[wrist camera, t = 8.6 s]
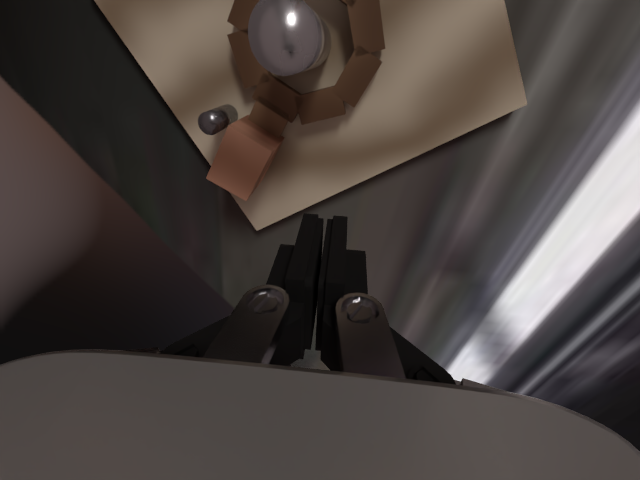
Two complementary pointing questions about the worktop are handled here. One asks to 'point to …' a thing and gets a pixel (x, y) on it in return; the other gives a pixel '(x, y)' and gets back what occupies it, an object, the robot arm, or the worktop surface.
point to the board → (360, 121)
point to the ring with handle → (288, 97)
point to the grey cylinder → (278, 48)
